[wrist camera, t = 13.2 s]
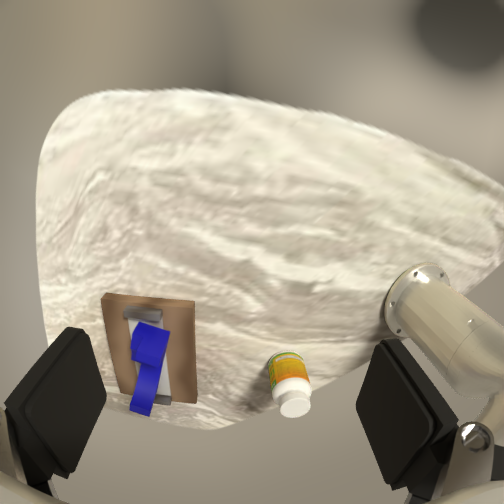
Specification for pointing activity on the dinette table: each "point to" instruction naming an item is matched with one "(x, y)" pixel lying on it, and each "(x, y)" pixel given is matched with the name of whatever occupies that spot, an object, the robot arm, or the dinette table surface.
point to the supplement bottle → (290, 383)
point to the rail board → (177, 352)
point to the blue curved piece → (147, 364)
